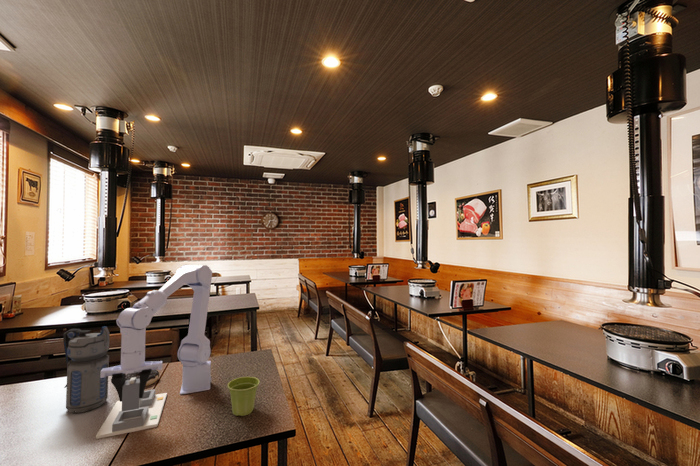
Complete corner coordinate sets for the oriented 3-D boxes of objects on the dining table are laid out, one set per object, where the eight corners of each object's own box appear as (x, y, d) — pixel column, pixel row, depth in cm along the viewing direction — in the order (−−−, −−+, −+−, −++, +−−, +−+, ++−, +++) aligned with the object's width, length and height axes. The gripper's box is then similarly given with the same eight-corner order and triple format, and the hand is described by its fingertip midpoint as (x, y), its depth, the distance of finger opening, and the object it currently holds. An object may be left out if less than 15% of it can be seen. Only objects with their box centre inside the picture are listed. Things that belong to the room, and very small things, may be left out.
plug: (141, 402, 92) (142, 375, 92) (138, 408, 88) (139, 380, 88) (125, 404, 90) (126, 377, 90) (121, 411, 86) (122, 383, 87)
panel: (167, 395, 106) (167, 386, 106) (157, 426, 88) (157, 416, 88) (117, 403, 100) (117, 394, 100) (95, 439, 82) (96, 428, 82)
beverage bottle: (76, 398, 103) (78, 323, 104) (117, 397, 104) (119, 322, 105) (47, 415, 93) (51, 331, 94) (93, 414, 94) (96, 331, 95)
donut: (125, 379, 118) (126, 369, 118) (161, 374, 123) (161, 364, 123) (117, 392, 108) (117, 381, 108) (156, 386, 113) (156, 375, 113)
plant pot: (250, 400, 103) (250, 373, 103) (264, 411, 96) (265, 383, 96) (221, 410, 96) (222, 382, 96) (235, 423, 89) (235, 393, 90)
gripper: (97, 358, 83) (95, 410, 82) (160, 351, 88) (159, 399, 88) (105, 350, 89) (104, 398, 89) (163, 343, 95) (162, 389, 94)
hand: (131, 398), depth 89 cm, fingers closed on plug, 4 cm apart
